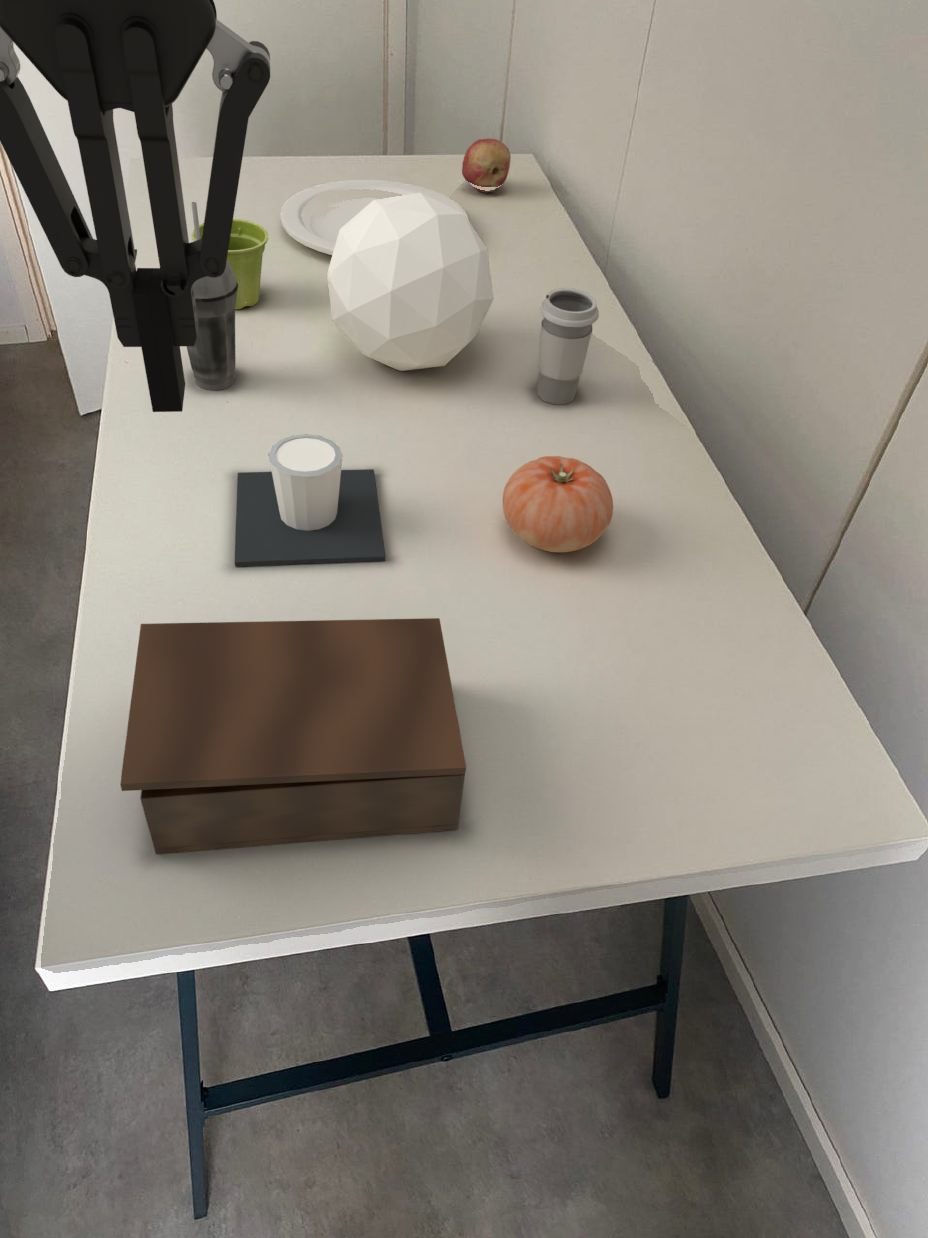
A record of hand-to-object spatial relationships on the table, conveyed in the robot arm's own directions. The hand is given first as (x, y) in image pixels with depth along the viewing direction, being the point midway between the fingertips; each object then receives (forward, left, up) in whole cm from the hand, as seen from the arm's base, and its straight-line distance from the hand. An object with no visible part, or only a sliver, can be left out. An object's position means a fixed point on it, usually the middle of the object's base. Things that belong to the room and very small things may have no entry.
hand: (169, 397), depth 51 cm
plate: (+19, +98, -33) cm, 105 cm away
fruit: (+38, +114, -33) cm, 125 cm away
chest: (+6, 0, -32) cm, 33 cm away
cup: (+37, +52, -33) cm, 72 cm away
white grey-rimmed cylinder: (+7, +30, -32) cm, 44 cm away
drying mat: (+7, +30, -32) cm, 45 cm away
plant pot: (-1, +76, -33) cm, 83 cm away
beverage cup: (-3, +56, -33) cm, 65 cm away
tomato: (+31, +26, -33) cm, 52 cm away
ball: (+20, +61, -33) cm, 72 cm away
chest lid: (+5, 0, -25) cm, 26 cm away
